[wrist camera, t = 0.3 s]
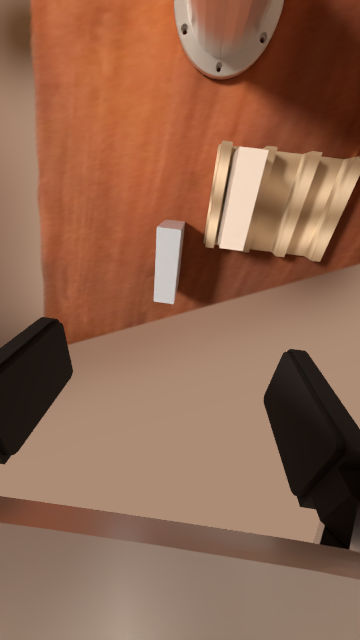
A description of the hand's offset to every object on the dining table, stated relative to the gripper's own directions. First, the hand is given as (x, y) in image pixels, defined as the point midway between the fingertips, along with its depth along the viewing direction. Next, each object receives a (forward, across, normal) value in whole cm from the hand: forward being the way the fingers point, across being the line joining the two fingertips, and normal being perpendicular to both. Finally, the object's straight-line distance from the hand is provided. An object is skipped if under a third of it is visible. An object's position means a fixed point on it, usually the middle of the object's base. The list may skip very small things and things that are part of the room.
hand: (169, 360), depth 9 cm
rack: (+34, -12, -6) cm, 37 cm away
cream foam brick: (+33, -6, -6) cm, 34 cm away
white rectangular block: (+35, +4, +4) cm, 35 cm away
